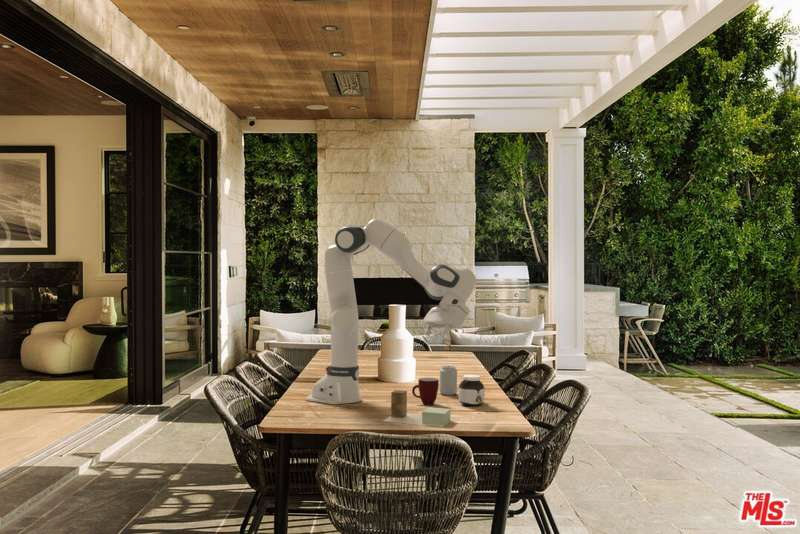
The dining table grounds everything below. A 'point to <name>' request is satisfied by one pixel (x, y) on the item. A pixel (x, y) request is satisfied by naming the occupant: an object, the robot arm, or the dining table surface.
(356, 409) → the dining table surface
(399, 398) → the pillar
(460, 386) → the spread jar
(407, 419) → the tile
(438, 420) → the base block
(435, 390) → the mug
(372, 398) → the dining table surface
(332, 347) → the robot arm
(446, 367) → the can
